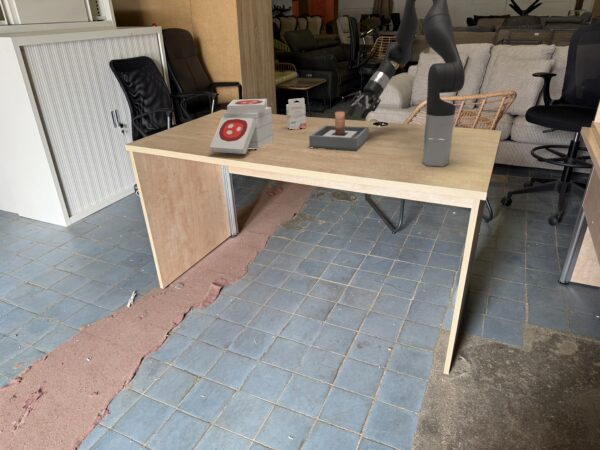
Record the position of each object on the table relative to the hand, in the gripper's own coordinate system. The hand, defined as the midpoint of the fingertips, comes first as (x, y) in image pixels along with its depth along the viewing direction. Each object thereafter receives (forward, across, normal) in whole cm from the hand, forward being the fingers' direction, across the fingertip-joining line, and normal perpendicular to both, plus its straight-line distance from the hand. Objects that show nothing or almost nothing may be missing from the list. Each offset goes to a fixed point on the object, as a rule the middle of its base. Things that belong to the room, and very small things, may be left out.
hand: (355, 116), depth 179 cm
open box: (+13, 0, +1) cm, 13 cm away
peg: (+12, 0, +1) cm, 12 cm away
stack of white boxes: (+37, -21, -23) cm, 49 cm away
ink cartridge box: (+12, -36, +2) cm, 38 cm away
